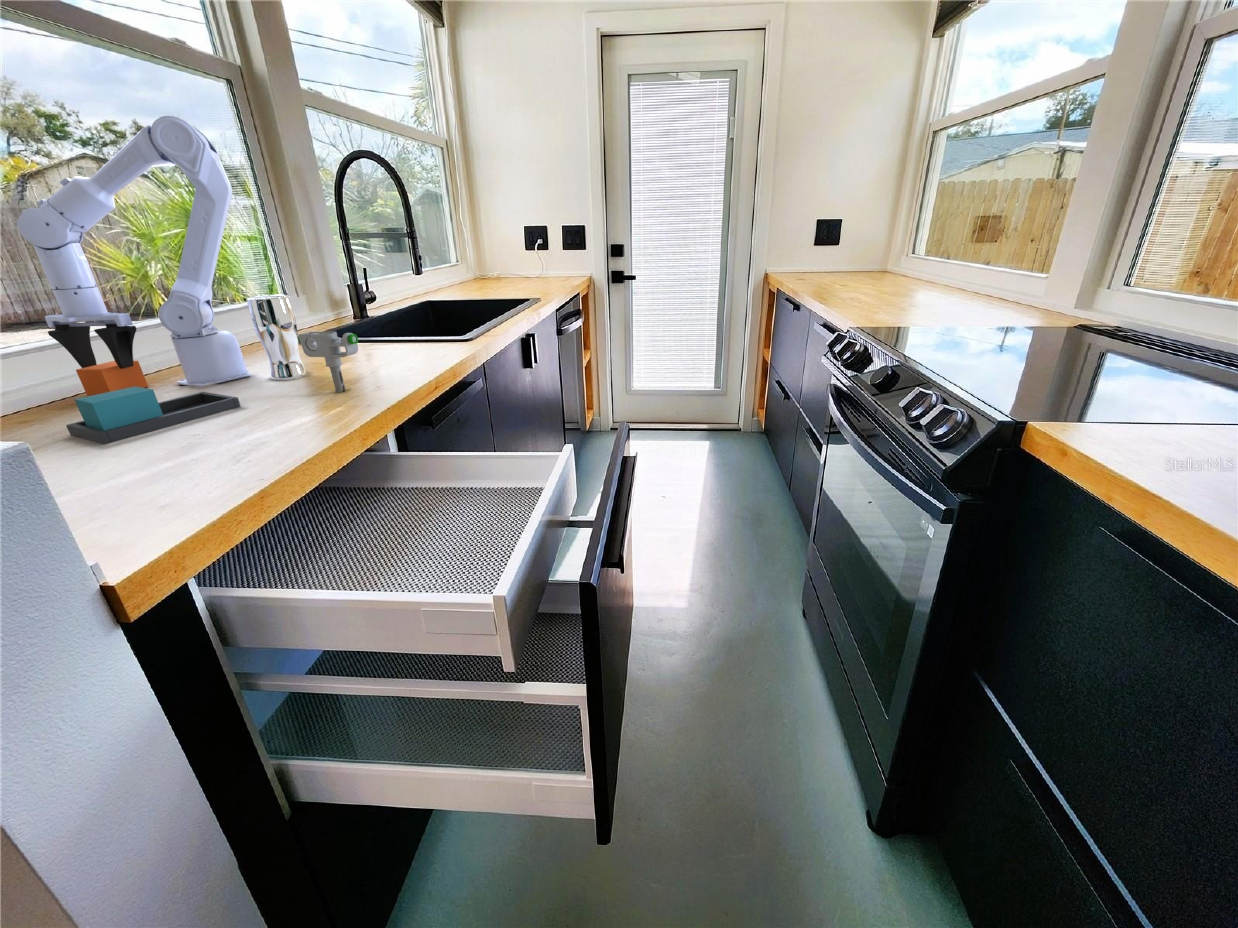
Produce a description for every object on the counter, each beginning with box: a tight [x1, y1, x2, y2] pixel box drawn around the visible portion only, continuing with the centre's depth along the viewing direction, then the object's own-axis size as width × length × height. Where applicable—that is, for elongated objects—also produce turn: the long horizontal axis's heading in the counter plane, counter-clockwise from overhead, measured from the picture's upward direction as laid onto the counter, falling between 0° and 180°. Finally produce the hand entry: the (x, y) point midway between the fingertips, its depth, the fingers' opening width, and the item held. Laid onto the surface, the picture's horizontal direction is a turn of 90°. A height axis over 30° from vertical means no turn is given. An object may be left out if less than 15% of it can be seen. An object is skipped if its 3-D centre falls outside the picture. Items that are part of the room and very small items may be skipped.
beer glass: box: [246, 294, 308, 381], centre depth 101 cm, size 7×7×15 cm
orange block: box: [75, 360, 149, 397], centre depth 97 cm, size 7×5×5 cm
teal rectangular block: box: [74, 387, 163, 431], centre depth 75 cm, size 7×5×5 cm
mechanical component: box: [298, 331, 359, 394], centre depth 91 cm, size 3×10×10 cm, turn 78°
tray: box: [65, 391, 241, 446], centre depth 79 cm, size 18×10×2 cm, turn 153°
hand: (108, 367), depth 96 cm, fingers open, 7 cm apart
